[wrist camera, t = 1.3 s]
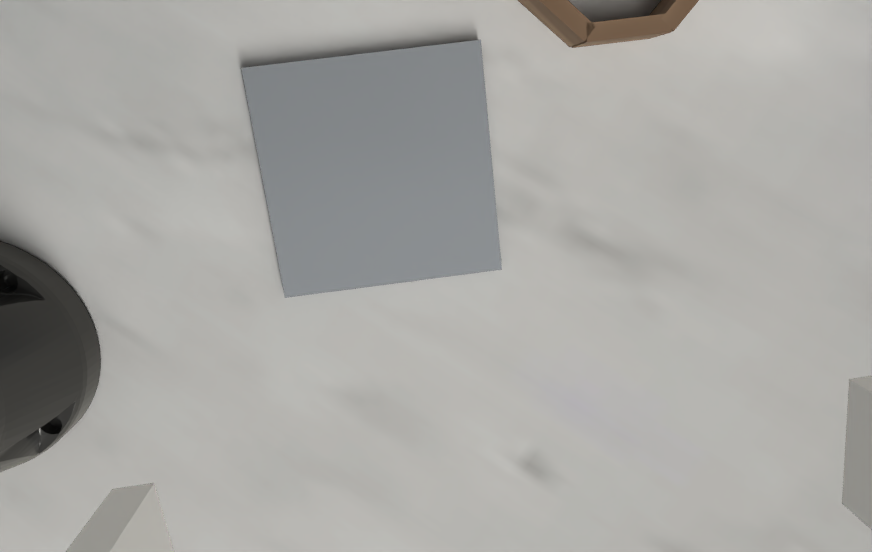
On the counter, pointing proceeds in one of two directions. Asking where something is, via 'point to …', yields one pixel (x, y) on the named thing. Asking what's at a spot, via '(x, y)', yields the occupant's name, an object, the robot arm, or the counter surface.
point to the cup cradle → (607, 22)
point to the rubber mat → (376, 166)
